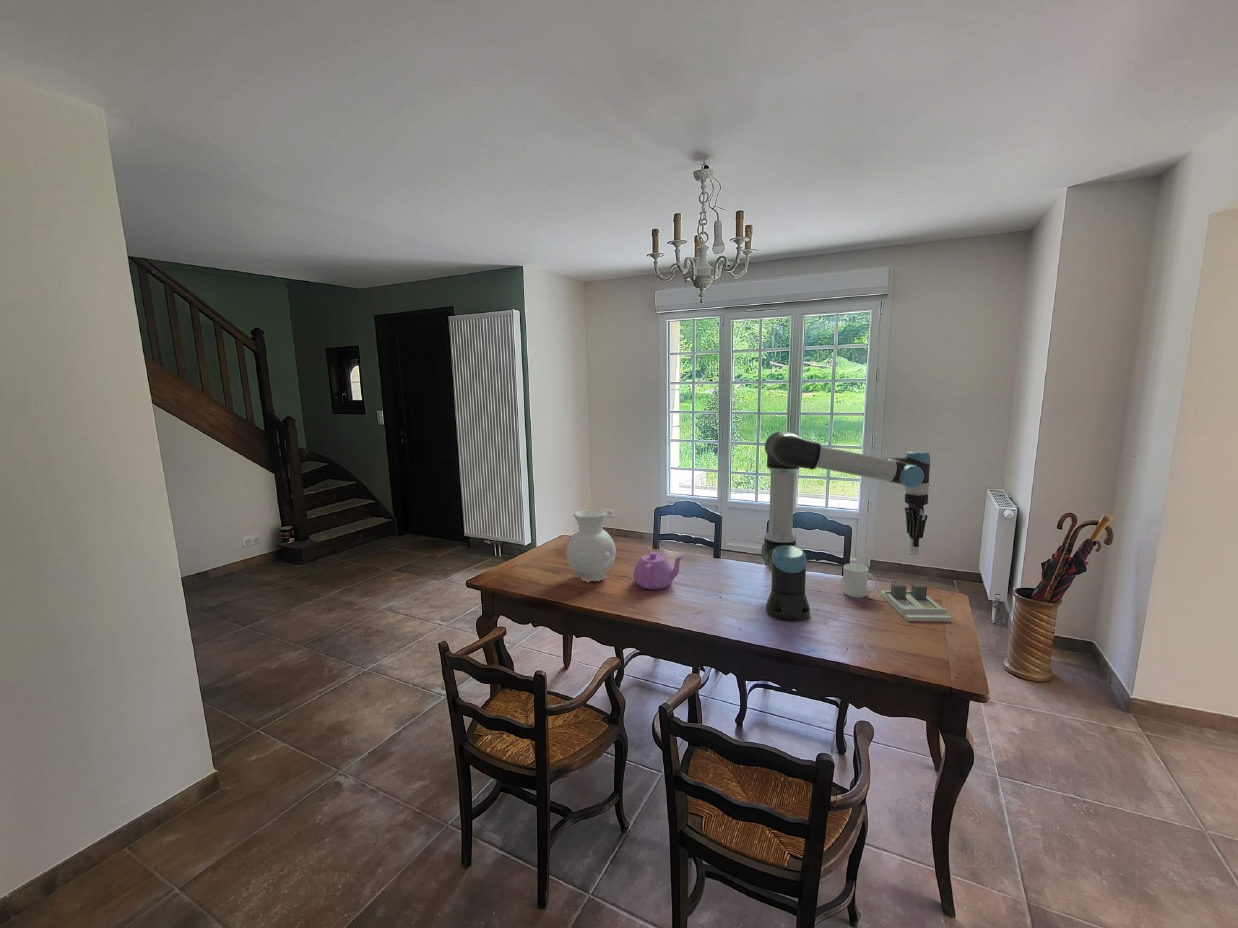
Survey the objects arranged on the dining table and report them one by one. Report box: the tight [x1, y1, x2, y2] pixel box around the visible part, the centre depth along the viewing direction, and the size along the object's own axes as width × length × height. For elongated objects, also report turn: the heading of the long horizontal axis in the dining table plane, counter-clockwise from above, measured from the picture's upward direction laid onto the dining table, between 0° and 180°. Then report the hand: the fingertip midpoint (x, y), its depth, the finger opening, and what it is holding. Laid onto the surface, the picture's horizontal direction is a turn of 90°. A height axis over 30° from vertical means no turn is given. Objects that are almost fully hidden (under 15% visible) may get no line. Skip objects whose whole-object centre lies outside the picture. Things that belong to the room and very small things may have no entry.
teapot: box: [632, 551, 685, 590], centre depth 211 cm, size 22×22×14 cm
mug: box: [842, 563, 878, 599], centre depth 195 cm, size 9×12×11 cm
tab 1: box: [890, 582, 907, 599], centre depth 188 cm, size 4×3×5 cm
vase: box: [566, 509, 617, 582], centre depth 218 cm, size 19×21×30 cm
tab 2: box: [910, 583, 928, 600], centre depth 186 cm, size 4×3×5 cm
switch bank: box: [880, 589, 952, 623], centre depth 183 cm, size 14×22×3 cm, turn 175°
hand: (913, 554), depth 189 cm, fingers closed
